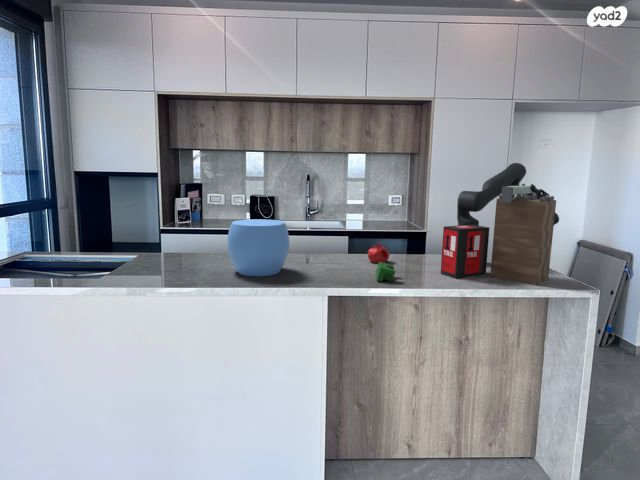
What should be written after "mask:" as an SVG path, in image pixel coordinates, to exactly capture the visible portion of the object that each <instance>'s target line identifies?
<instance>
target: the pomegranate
mask: <svg viewBox="0 0 640 480" xmlns="http://www.w3.org/2000/svg"><path fill="white" fill-rule="evenodd" d="M387 248H388V246H386V245H384V246H381V242H379V241H378V242H377V245H371V247H370V248H369V249H368V251H367V258H368V260H369V261H370V262H371V263H374V264H378V263H379V262H382V263H386V262H388V260H389V258H390V252H389V251H388V249H387Z"/></svg>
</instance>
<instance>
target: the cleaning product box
mask: <svg viewBox="0 0 640 480" xmlns="http://www.w3.org/2000/svg"><path fill="white" fill-rule="evenodd" d="M490 228H491V227H489V226H484V225H479V226H478V225H461V226H458V225H449V226H448V225H447V226H443V231H442V232H443V233H442V248H441V260H440V261H441V265H440V275H443V276H446V277H449V278H453V279H456V280H457V279H464V278H465V279H466V278H472V277H473V276H474V277H480V276H481V275H482V276H486V274H487V263H488V252H489V238H490Z"/></svg>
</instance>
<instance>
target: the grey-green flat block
mask: <svg viewBox="0 0 640 480" xmlns="http://www.w3.org/2000/svg"><path fill="white" fill-rule="evenodd" d="M530 187H531V185H525V186H521V185H520V186H507V187H502V194H501V202H508V203H512V197H513V195H515V196H516V194H527V193H532V191H531V189H530Z"/></svg>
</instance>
